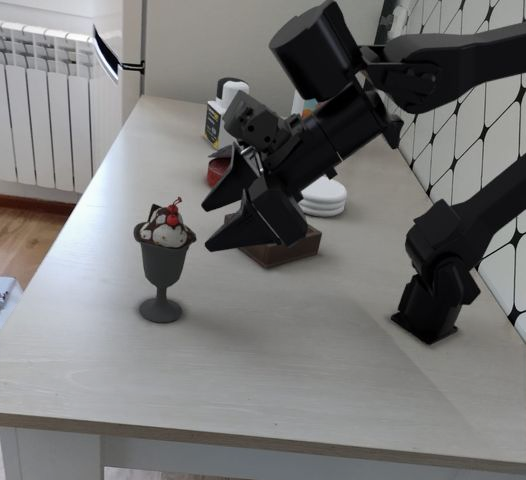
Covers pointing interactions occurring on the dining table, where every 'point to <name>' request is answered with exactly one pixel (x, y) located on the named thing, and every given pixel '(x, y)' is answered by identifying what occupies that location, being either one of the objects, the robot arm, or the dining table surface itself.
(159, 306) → the sundae
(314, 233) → the brown wooden square box
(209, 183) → the canned food
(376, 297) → the dining table surface
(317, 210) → the coaster
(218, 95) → the medicine bottle
